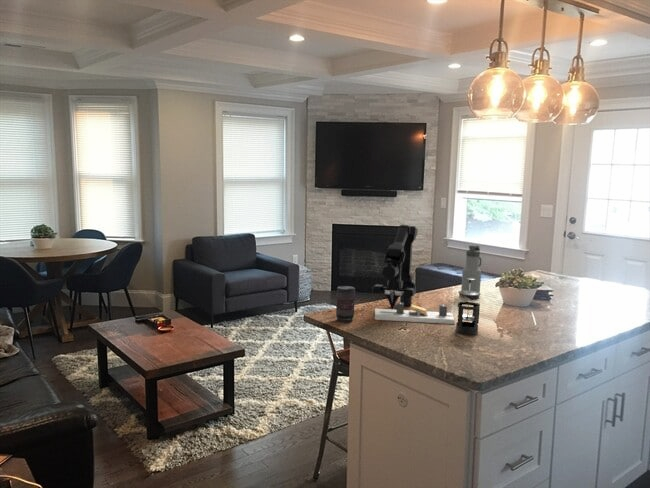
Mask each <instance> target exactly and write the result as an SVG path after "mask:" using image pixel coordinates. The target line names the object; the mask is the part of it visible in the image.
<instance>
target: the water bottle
mask: <svg viewBox="0 0 650 488" xmlns="http://www.w3.org/2000/svg"><path fill="white" fill-rule="evenodd" d="M468 248H469V249H468V250H466V253H465V256H466V258H465V259H466V260H465V267H463V269H462V272H461V274H462V275H461V288H460V289H461V290H460V291H469V285H470V291H475V292H479V293H480V295H479V297H480V296H481V281H482V270H481V269H480V268H479V267H481V265H482V258H481V257H480V253H481V250H480V248H481V247H480V246H479V245H475V244H470V245H468ZM465 278H474V279H476V280H471V283H469V280H466V279H465ZM462 297H463V298H466V299H468V298H467V297H466V296H462Z"/></svg>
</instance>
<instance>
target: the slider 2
mask: <svg viewBox="0 0 650 488" xmlns="http://www.w3.org/2000/svg"><path fill="white" fill-rule="evenodd" d="M438 312H439V314H440V315H446V316H447V313H448V305H446V304H439V309H438Z"/></svg>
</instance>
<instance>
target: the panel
mask: <svg viewBox="0 0 650 488" xmlns="http://www.w3.org/2000/svg"><path fill="white" fill-rule="evenodd" d="M426 311H427V310H426ZM374 320H377V321H378V320H380V321H394V322H395V321H397V322H413V323H426V324H427V323H429V324H431V323H432V324H443V325H445V324H448V325H455V318H454V316H453V313H452V312H447V316H446V315H440V314H439V311H427V312H426V315H425V314H422V313H420V310H417V312H416V311H413V310H411V309H410V310H407V309H404V313H397V309H390V308H389V309H388V308H374Z"/></svg>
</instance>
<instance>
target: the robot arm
mask: <svg viewBox="0 0 650 488" xmlns="http://www.w3.org/2000/svg"><path fill="white" fill-rule="evenodd" d="M418 232H419V230H418V228H417V227H416V226H413V225H409V224H401V225H399V226H398V231H397V235H396V237H395V239H394V242H393V243H391V244H390V245H389V247H388V248H387V250H386V253H385V257H384V261H383V263H384V264H386V266H384V268H383V269H382V275H383V277H384V278H385V279H386V280H387V287H386V286H385V285H384V284H378V283H376V284H375V285H373V286H372V287H371V292H372V293H377V294H379V293H380V292H384V296H386V298H387V300H388V302H389V305H390V307H391V309H393V310H395V307H396V305H397V303H400V302H401V303H404V307H410V306H411V304H412V305H413V303H412V298H413V297H414V295H416V293H417V287H416V284H415V283H416V282H415V278H414V275H412V261H413V258H412V257H413V244H414V242H415V241H416V239H417V236H418V234H419V233H418ZM398 299H399V301H398Z"/></svg>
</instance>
